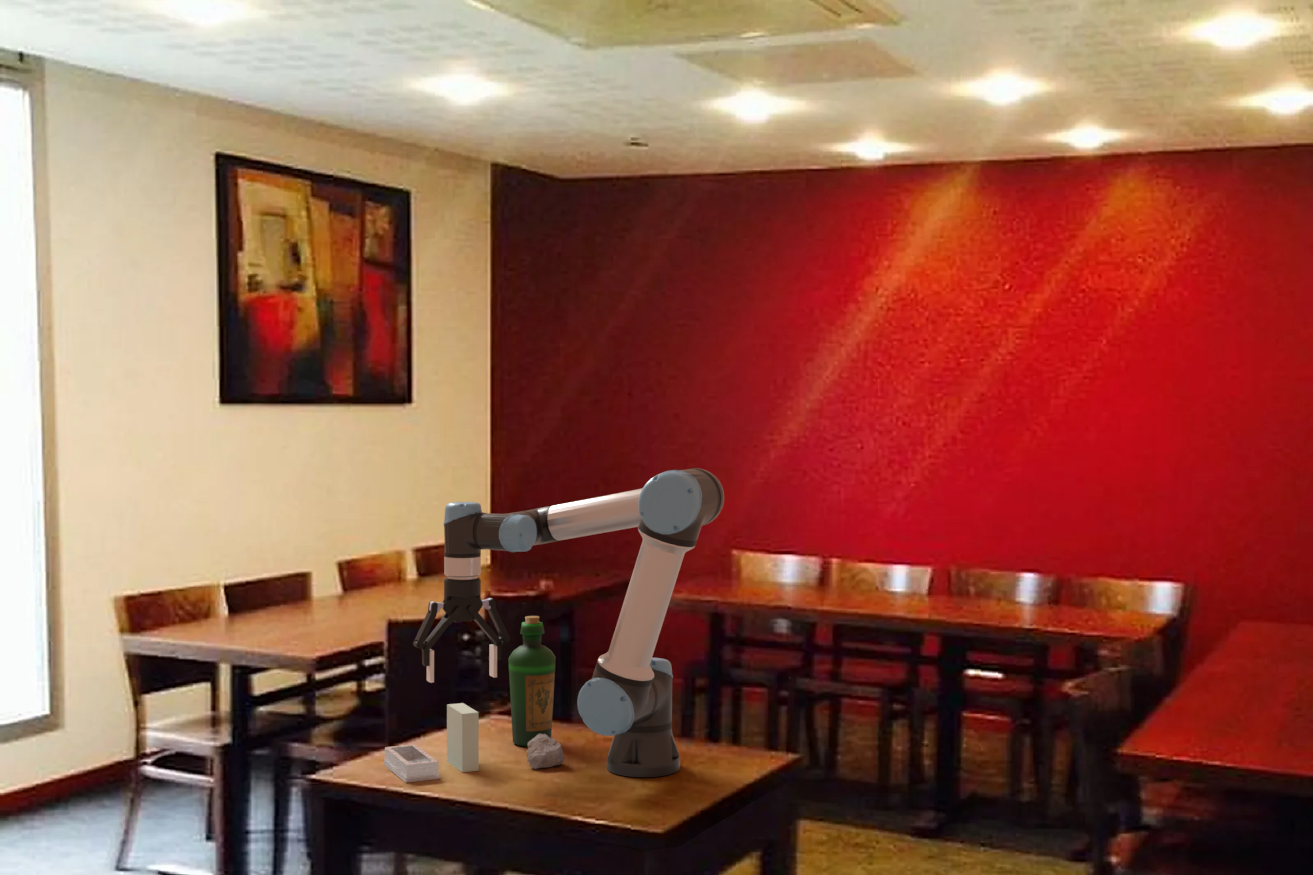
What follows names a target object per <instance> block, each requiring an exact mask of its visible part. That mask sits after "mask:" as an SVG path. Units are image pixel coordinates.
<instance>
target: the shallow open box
mask: <svg viewBox="0 0 1313 875" xmlns="http://www.w3.org/2000/svg"><path fill="white" fill-rule="evenodd" d="M383 765H384V766H385V767H386V768H387V769H389V770H390V771H391V772H392V773H393V774H395V776H397V777H398V778H399V779H400V780H401V781H403V782H404V783H405V784H407V783H414V782H415V783H417V782H424V781H432V780H440V773H439V761H438V760H437V759H436V758H434V757H433V756H432V755H430V754H429V753H427V752H426V751H425V750H424V749H422V748H421V747H419V745H417V744H415V743H413V744H405V745H404V744H402V745H395V746H394V745H393V746H385V747H384V759H383Z"/></svg>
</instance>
